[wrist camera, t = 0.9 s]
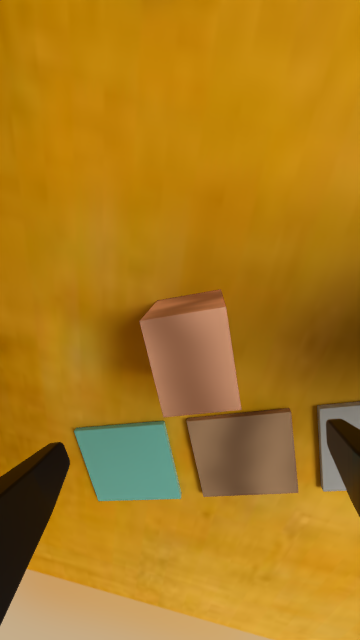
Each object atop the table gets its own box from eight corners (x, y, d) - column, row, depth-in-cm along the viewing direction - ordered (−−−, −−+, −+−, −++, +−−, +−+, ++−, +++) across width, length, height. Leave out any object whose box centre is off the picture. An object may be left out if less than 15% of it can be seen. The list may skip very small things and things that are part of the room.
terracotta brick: (220, 289, 17) (225, 306, 12) (232, 367, 19) (241, 409, 14) (157, 300, 18) (139, 320, 13) (174, 374, 19) (163, 417, 15)
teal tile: (165, 416, 21) (163, 424, 20) (182, 488, 23) (180, 498, 22) (79, 423, 22) (73, 431, 21) (102, 491, 25) (98, 500, 24)
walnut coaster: (286, 403, 20) (291, 411, 19) (294, 481, 22) (298, 492, 21) (187, 413, 21) (186, 421, 20) (203, 486, 23) (203, 496, 22)
